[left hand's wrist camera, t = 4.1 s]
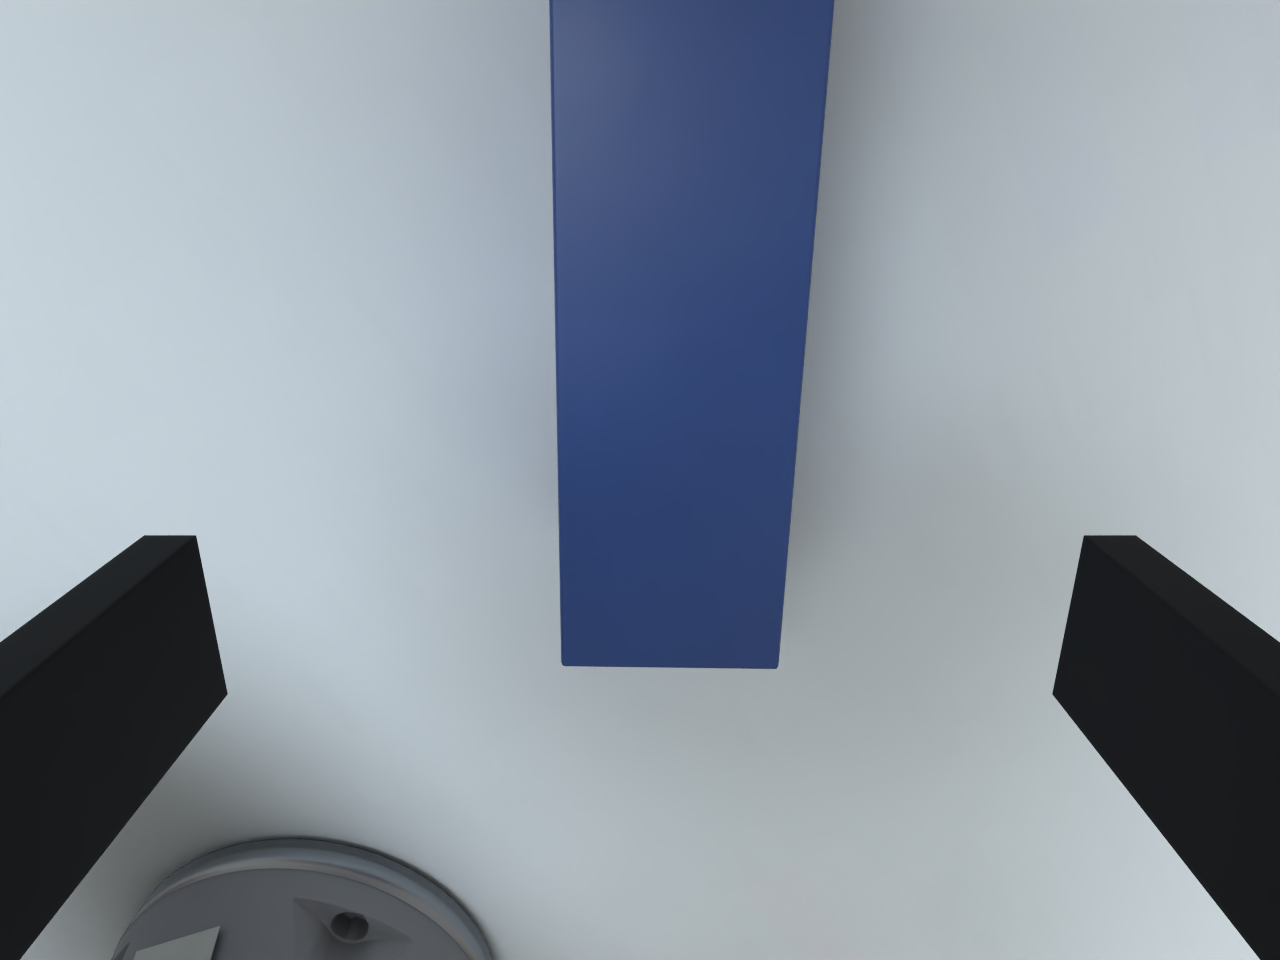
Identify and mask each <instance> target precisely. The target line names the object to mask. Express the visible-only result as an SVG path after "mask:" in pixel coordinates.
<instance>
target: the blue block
mask: <svg viewBox="0 0 1280 960" xmlns="http://www.w3.org/2000/svg"><path fill="white" fill-rule="evenodd" d="M549 5H550V61H551V116H552V172H553V227H554V283H555V339H556V394H557V450H558V505H559V561H560V616H561V663H562V665H563V666H599V667H675V668H750V669H776V668H777V667H778V663H779V652H780V640H781V628H782V616H783V604H784V592H785V580H786V568H787V557H788V545H789V533H790V521H791V509H792V497H793V485H794V473H795V462H796V450H797V438H798V426H799V414H800V402H801V390H802V378H803V366H804V355H805V343H806V331H807V319H808V307H809V295H810V283H811V271H812V260H813V248H814V236H815V224H816V212H817V200H818V188H819V176H820V164H821V153H822V141H823V129H824V117H825V105H826V93H827V81H828V69H829V58H830V46H831V34H832V22H833V10H834V0H549Z"/></svg>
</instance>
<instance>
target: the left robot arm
mask: <svg viewBox="0 0 1280 960" xmlns="http://www.w3.org/2000/svg"><path fill="white" fill-rule="evenodd" d="M226 695H227V689H226V684H225V679H224V674H223V669H222V664H221V659H220V654H219V649H218V644H217V639H216V634H215V629H214V624H213V618H212V613H211V608H210V603H209V598H208V593H207V588H206V583H205V578H204V573H203V568H202V563H201V558H200V553H199V548H198V543H197V538H196V536H143V537H142V538H140V539H139V540H138V541H136V542H135V543H133V544H132V545H131V546H129V547H128V548H127V549H125V550H124V551H123V552H121V553H120V554H119V555H117V556H116V557H115V558H113V559H112V560H111V561H109V562H108V563H107V564H105V565H104V566H102V567H101V568H100V569H98V570H97V571H96V572H94V573H93V574H92V575H90V576H89V577H88V578H86V579H85V580H84V581H82V582H81V583H80V584H78V585H77V586H76V587H74V588H73V589H72V590H70V591H69V592H67V593H66V594H65V595H63V596H62V597H61V598H59V599H58V600H57V601H55V602H54V603H53V604H51V605H50V606H49V607H47V608H46V609H45V610H43V611H42V612H41V613H39V614H38V615H37V616H35V617H34V618H32V619H31V620H30V621H28V622H27V623H26V624H24V625H23V626H22V627H20V628H19V629H18V630H16V631H15V632H14V633H12V634H11V635H10V636H8V637H7V638H6V639H4V640H3V641H2V642H0V960H20V959H21V957H22V956H23V955H24V953H25V952H26V951H27V950H28V948H29V947H30V946H31V945H32V943H33V942H34V941H35V939H36V938H37V937H38V936H39V934H40V933H41V932H42V930H43V929H44V928H45V927H46V925H47V924H48V923H49V922H50V920H51V919H52V918H53V916H54V915H55V914H56V913H57V911H58V910H59V909H60V907H61V906H62V905H63V904H64V902H65V901H66V900H67V899H68V897H69V896H70V895H71V893H72V892H73V891H74V890H75V888H76V887H77V886H78V884H79V883H80V882H81V881H82V879H83V878H84V877H85V876H86V874H87V873H88V872H89V870H90V869H91V868H92V867H93V865H94V864H95V863H96V861H97V860H98V859H99V858H100V856H101V855H102V854H103V853H104V851H105V850H106V849H107V847H108V846H109V845H110V844H111V842H112V841H113V840H114V838H115V837H116V836H117V835H118V833H119V832H120V831H121V830H122V828H123V827H124V826H125V824H126V823H127V822H128V821H129V819H130V818H131V817H132V815H133V814H134V813H135V812H136V810H137V809H138V808H139V807H140V805H141V804H142V803H143V801H144V800H145V799H146V798H147V796H148V795H149V794H150V793H151V791H152V790H153V789H154V787H155V786H156V785H157V784H158V782H159V781H160V780H161V778H162V777H163V776H164V775H165V773H166V772H167V771H168V770H169V768H170V767H171V766H172V764H173V763H174V762H175V761H176V759H177V758H178V757H179V755H180V754H181V753H182V752H183V750H184V749H185V748H186V747H187V745H188V744H189V743H190V741H191V740H192V739H193V738H194V736H195V735H196V734H197V732H198V731H199V730H200V729H201V727H202V726H203V725H204V724H205V722H206V721H207V720H208V718H209V717H210V716H211V715H212V713H213V712H214V711H215V709H216V708H217V707H218V706H219V704H220V703H221V702H222V701H223V699H224V698H225V697H226ZM1053 695H1054V697H1055V698H1056V699H1057V701H1058V702H1059V703H1060V704H1061V706H1062V707H1063V708H1064V709H1065V711H1066V712H1067V713H1068V715H1069V716H1070V717H1071V718H1072V720H1073V721H1074V722H1075V724H1076V725H1077V726H1078V727H1079V729H1080V730H1081V731H1082V732H1083V734H1084V735H1085V736H1086V738H1087V739H1088V740H1089V741H1090V743H1091V744H1092V745H1093V747H1094V748H1095V749H1096V750H1097V752H1098V753H1099V754H1100V755H1101V757H1102V758H1103V759H1104V761H1105V762H1106V763H1107V764H1108V766H1109V767H1110V768H1111V770H1112V771H1113V772H1114V773H1115V775H1116V776H1117V777H1118V778H1119V780H1120V781H1121V782H1122V784H1123V785H1124V786H1125V787H1126V789H1127V790H1128V791H1129V793H1130V794H1131V795H1132V796H1133V798H1134V799H1135V800H1136V801H1137V803H1138V804H1139V805H1140V807H1141V808H1142V809H1143V810H1144V812H1145V813H1146V814H1147V816H1148V817H1149V818H1150V819H1151V821H1152V822H1153V823H1154V824H1155V826H1156V827H1157V828H1158V830H1159V831H1160V832H1161V833H1162V835H1163V836H1164V837H1165V838H1166V840H1167V841H1168V842H1169V844H1170V845H1171V846H1172V847H1173V849H1174V850H1175V851H1176V853H1177V854H1178V855H1179V856H1180V858H1181V859H1182V860H1183V861H1184V863H1185V864H1186V865H1187V867H1188V868H1189V869H1190V870H1191V872H1192V873H1193V874H1194V876H1195V877H1196V878H1197V879H1198V881H1199V882H1200V883H1201V884H1202V886H1203V887H1204V888H1205V890H1206V891H1207V892H1208V893H1209V895H1210V896H1211V897H1212V899H1213V900H1214V901H1215V902H1216V904H1217V905H1218V906H1219V907H1220V909H1221V910H1222V911H1223V913H1224V914H1225V915H1226V916H1227V918H1228V919H1229V920H1230V922H1231V923H1232V924H1233V925H1234V927H1235V928H1236V929H1237V930H1238V932H1239V933H1240V934H1241V936H1242V937H1243V938H1244V939H1245V941H1246V942H1247V943H1248V945H1249V946H1250V947H1251V948H1252V950H1253V951H1254V952H1255V953H1256V955H1257V956H1258V957H1259V959H1260V960H1280V642H1278V641H1277V640H1276V639H1274V638H1273V637H1272V636H1270V635H1269V634H1268V633H1266V632H1265V631H1264V630H1262V629H1261V628H1260V627H1258V626H1257V625H1256V624H1254V623H1253V622H1252V621H1250V620H1249V619H1248V618H1246V617H1245V616H1243V615H1242V614H1241V613H1239V612H1238V611H1237V610H1235V609H1234V608H1233V607H1231V606H1230V605H1229V604H1227V603H1226V602H1225V601H1223V600H1222V599H1221V598H1219V597H1218V596H1217V595H1215V594H1214V593H1213V592H1211V591H1210V590H1208V589H1207V588H1206V587H1204V586H1203V585H1202V584H1200V583H1199V582H1198V581H1196V580H1195V579H1194V578H1192V577H1191V576H1190V575H1188V574H1187V573H1186V572H1184V571H1183V570H1182V569H1180V568H1179V567H1178V566H1176V565H1175V564H1173V563H1172V562H1171V561H1169V560H1168V559H1167V558H1165V557H1164V556H1163V555H1161V554H1160V553H1159V552H1157V551H1156V550H1155V549H1153V548H1152V547H1151V546H1149V545H1148V544H1147V543H1145V542H1144V541H1142V540H1141V539H1140V538H1138V537H1137V536H1084V538H1083V543H1082V548H1081V553H1080V558H1079V563H1078V568H1077V573H1076V578H1075V583H1074V588H1073V593H1072V598H1071V603H1070V608H1069V613H1068V618H1067V624H1066V629H1065V634H1064V639H1063V644H1062V649H1061V654H1060V659H1059V664H1058V669H1057V674H1056V679H1055V684H1054V689H1053ZM111 960H493V958H492V955H491V952H490V950H489V948H488V946H487V944H486V941H485V939H484V938H483V936H482V934H481V933H480V931H479V930H478V928H477V926H476V925H475V924H474V922H473V921H472V920H471V919H470V917H469V916H468V915H467V914H466V912H465V911H464V910H463V909H462V908H461V907H460V906H459V905H458V904H457V903H456V902H455V901H454V900H453V899H452V898H451V897H449V896H448V895H447V894H446V893H445V892H444V891H443V890H441V889H440V888H439V887H437V886H436V885H434V884H433V883H432V882H430V881H429V880H427V879H426V878H424V877H423V876H421V875H419V874H418V873H416V872H414V871H413V870H411V869H409V868H407V867H405V866H403V865H401V864H399V863H397V862H394V861H392V860H390V859H387V858H385V857H382V856H380V855H377V854H374V853H371V852H368V851H365V850H362V849H358V848H354V847H350V846H346V845H342V844H336V843H330V842H324V841H315V840H304V839H277V840H263V841H256V842H249V843H243V844H239V845H235V846H231V847H227V848H224V849H221V850H218V851H215V852H212V853H209V854H207V855H205V856H202V857H200V858H198V859H196V860H194V861H192V862H190V863H188V864H187V865H185V866H183V867H181V868H180V869H179V870H177V871H176V872H174V873H173V874H172V875H170V876H169V877H168V878H167V879H166V880H164V881H163V882H162V883H161V884H160V885H159V886H158V887H157V888H156V889H155V890H154V891H153V893H152V894H151V895H150V896H149V897H148V899H147V900H146V902H145V903H144V905H143V906H142V908H141V909H140V910H139V912H138V913H137V915H136V916H135V918H134V919H133V921H132V922H131V924H130V925H129V927H128V928H127V930H126V931H125V933H124V935H123V936H122V938H121V939H120V941H119V943H118V946H117V948H116V950H115V952H114V955H113V957H112V959H111Z"/></svg>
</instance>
